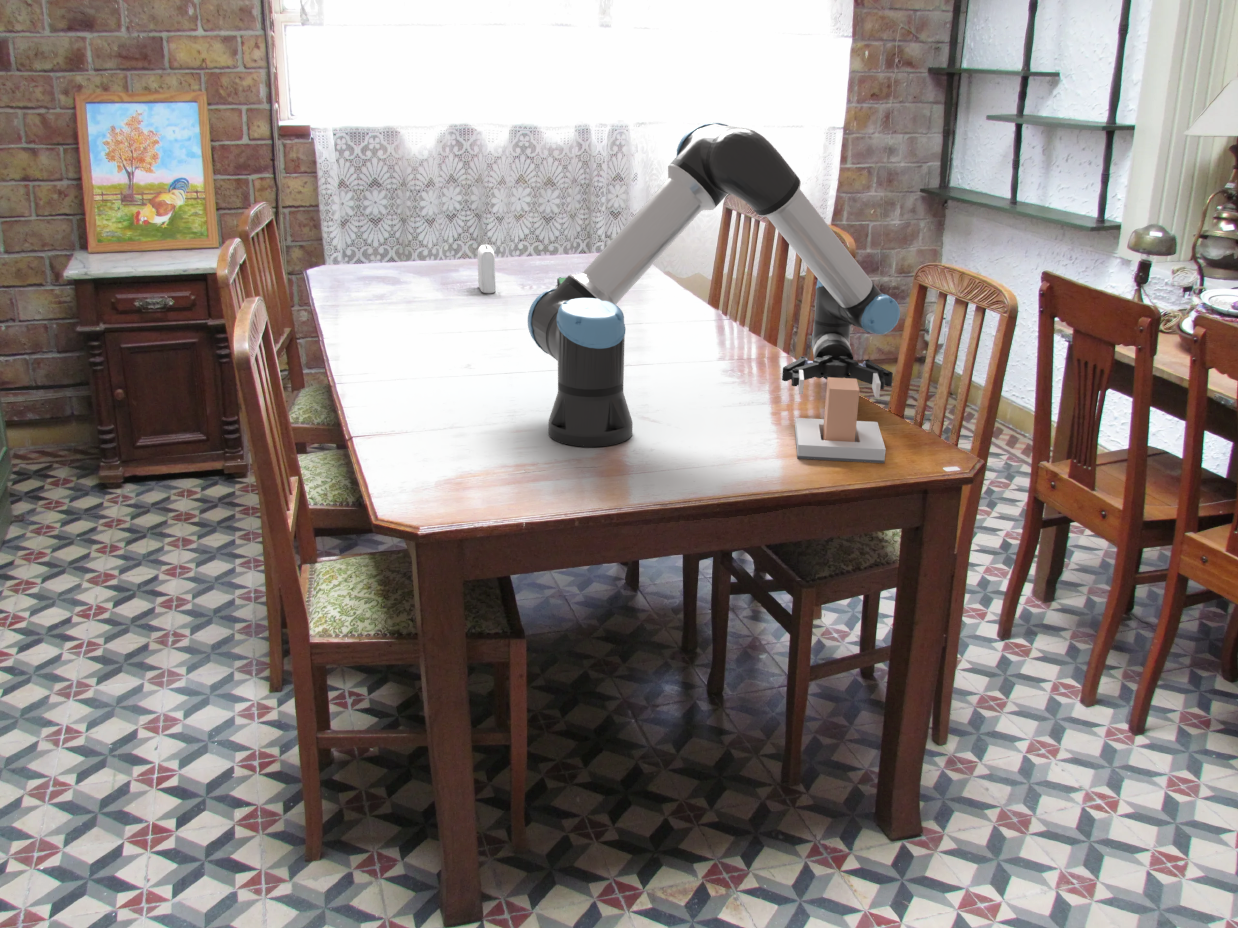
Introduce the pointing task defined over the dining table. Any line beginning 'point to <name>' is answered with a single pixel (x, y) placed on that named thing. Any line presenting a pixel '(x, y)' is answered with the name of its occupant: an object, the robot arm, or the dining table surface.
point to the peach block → (841, 409)
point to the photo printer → (486, 269)
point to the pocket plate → (839, 443)
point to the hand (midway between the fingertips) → (839, 388)
